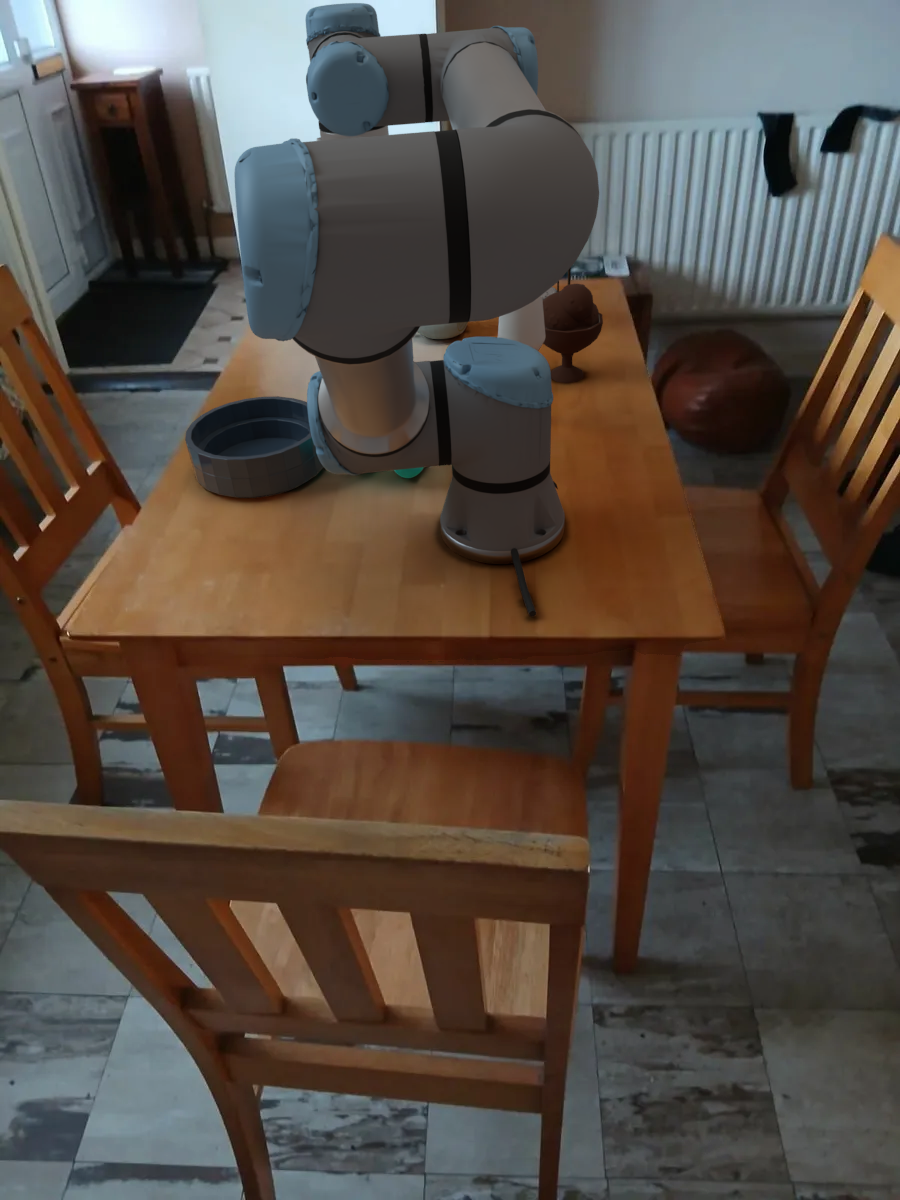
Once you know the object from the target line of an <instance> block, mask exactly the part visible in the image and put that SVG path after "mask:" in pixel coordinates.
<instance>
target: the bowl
mask: <svg viewBox="0 0 900 1200" xmlns="http://www.w3.org/2000/svg"><path fill="white" fill-rule="evenodd" d="M184 440H185V444H186V447H187V448H186V449H187V452H188V455H189V460H190V463H191V467H192V470H193V475H194V478H195V479H196V481H197V483H198V485H200V486H201V487H203V488H204V489H205V490H207V491H209V492H211V493H214V494H217V495H220V496H224V497H230V498H237V499H258V498H266V497H271V496H276V495H280V494H283V493H286V492H289V491H293V490H295V489H296V488H299V487H300V486H302V485H305V483H307V482H309V481H310V480H312V479H313V478H315V477H316V476H317V475H318V474H319V473H320V472H321V471H322V470H323V469H324V467H323V465H322V464H321V462H320V460H319V458H318V456H317V453H316V446H315V445H314V443H313V440H312V436H311V431H310V426H309V418H308V409H307V401H305V400H301V399H298V398H293V397H288V396H276V395H275V396H257V397H249V398H248V397H247V398H243V399H238V400H235V401H231V402H228V403H227V402H226V403H224V404H221V405H219V406H217V407H214V408H212V409H210V410H208V411H206V412H204V413H202V414H200V415H199V416H198V417H197V418H196V419H195V420H193V421H192V422H191V423H190V425H189V427H187V429H186V430H185V438H184Z"/></svg>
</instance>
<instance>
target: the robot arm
mask: <svg viewBox="0 0 900 1200" xmlns="http://www.w3.org/2000/svg"><path fill="white" fill-rule="evenodd" d="M305 30H306V39H305V42H306V46H307V50H308V57H309V65H308V67H307V71H306V76H305V83H306V90H307V91H306V92H307V97H308V102H309V105H310V107H311V110H312V112H313V114H314V115H315V117H316V119H317V120H318V129H319V136H320V137H317V138H316V139H315V140H313V141H312V140H310V141H301V139H300V138H290V139H288V140H285V141H283V142H281V143H274V144H266V145H258V146H253V147H250V148H248V149H246V150H245V151H243V152H242V153H241V154H240V156H239V157H238V159H237V160H236V163H235V166H234V192H235V193H234V194H235V207H236V218H237V219H236V220H237V230H238V241H239V242H238V243H239V252H240V262H241V271H242V272H241V273H242V280H243V290H244V297H245V305H246V306H245V307H246V312H247V313H246V314H247V320H248V325H249V329H250V331H251V333H252V334H253V335H254V336H256V337H257V338H260V339H261V340H262V339H263V340H276V341H278V342H285V341H286V342H288V341H291V340H293V341H294V342H295V343H296V345H298V346H299V347H300V348H302V349H303V350H304V351H306V353H308V354H310V355H312V356H313V357H314V358H315V361H316V364H317V366H318V369H319V371H316V372H314V373H313V374H312V375H311V377H310V378H309V382H308V383H307V384H308V385H307V390H306V402H307V409H308V418H309V426H310V431H311V436H312V440H313V443H314V445H315V446H316V453H317V456H318V458H319V460H320V462H321V464H322V465H323V469H325V470H326V471H327V472H329V473H331V474H334V475H348V476H359V475H362V474H367V473H368V474H369V473H379V472H389V471H394V470H400V469H410V468H420V467H424V468H429V467H441V466H443V467H444V466H451V480H450V483H449V486H448V489H447V493H446V496H445V499H444V503H443V507H442V509H441V512H440V517H439V520H440V534H441V538H442V540H443V542H444V544H445V545H446V546H447V547H448V548H449V549H450V550H451V551H453V552H454V553H455V554H457V555H459V556H460V557H463V558H465V559H468V560H471V561H475V562H479V563H486V564H494V565H506V564H507V565H509V564H513V567H514V571H515V575H516V579H517V582H518V587H519V590H520V593H521V596H522V599H523V602H524V605H525V607H526V610H527V614H528V616H529V617H531V618H534V617H536V616H537V611H536V608H535V605H534V602H533V599H532V596H531V593H530V590H529V587H528V583H527V580H526V576H525V573H524V568H523V565H522V563H523V562H527V561H530V560H534V559H537V558H539V557H541V556H543V555H545V554H547V553H549V552H551V551H552V550H553V549H554V548H555V547H557V546H558V544H559V543H560V542H561V540H562V539H563V536H564V533H565V519H566V517H565V515H566V514H565V510H564V508H563V504H562V502H561V499H560V496H559V493H558V491H557V490H559V487H558V485H557V483H556V482H555V480H554V479H553V477H552V474H551V473H552V472H551V452H552V451H551V450H552V449H551V444H552V404H553V401H554V394H553V389H552V379H551V371H552V370H551V367H550V363H549V362H548V360H547V358H546V357H545V356H544V355H543V354H542V353H541V352H540V351H539V350H538V351H537V350H536V349H534V348H532V347H530V346H528V345H526V344H523V343H521V342H518V341H514V340H510V339H506V338H499V337H498V336H470V337H464V338H462V340H455V341H453V342H451V343H450V344H449V345H448V346H447V348H446V349H445V352H444V354H443V359H440V360H439V359H438V360H423V361H415V360H414V345H413V343H414V342H413V338H414V337H415V336H416V335H417V333H418V332H417V331H418V330H419V328H420V326H429V325H440V324H449V323H460V322H468V323H471V322H472V323H473V322H482V321H490V320H493V319H496V318H499V316H503V315H506V314H509V313H511V312H514V311H516V310H518V309H520V308H522V307H524V306H526V305H528V304H530V303H531V302H533V301H535V300H536V299H537V298H538V297H540V296H541V295H542V294H543V293H545V292H546V291H547V290H549V289H550V288H551V287H554V286H555V285H557V282H558V281H559V282H560V280H561V279H562V278H563V277H564V276H565V274H566V273H568V270H569V269H570V267H571V268H572V266H573V265H574V264H575V262H576V261H577V260H578V259H579V257H580V255H581V253H582V251H583V250H584V247H585V246H586V244H587V242H588V241H589V238H590V236H591V234H592V230H593V228H594V225H595V222H596V219H597V215H598V208H599V201H600V185H599V175H598V170H597V166H596V163H595V161H594V158H593V156H592V153H591V151H590V149H589V148H588V146H587V144H586V142H585V141H584V140H583V138H582V137H581V134H580V133H579V132H578V131H577V130H576V128H575V127H574V126H573V125H572V124H571V123H569V122H568V121H567V120H566V119H564V118H563V117H562V116H560V115H558V114H556V113H554V112H552V111H549V110H546V109H545V107H544V104H542V102H541V100H540V98H539V97H538V88H539V59H538V50H537V47H536V39H535V36H534V34H533V33H532V31H531V30H530V29H529V28H527V27H523V26H519V27H518V26H514V27H509V26H508V27H507V26H501V25H493V26H492V27H489V28H477V29H476V28H475V29H468V30H465V29H464V30H456V31H455V30H454V31H445V32H431V33H411V34H398V35H395V34H394V35H383V36H381V33H380V29H379V20H378V14H377V11H376V9H375V8H374V6H373V5H371V4H368V3H363V2H348V3H347V2H346V3H335V4H334V3H332V4H325V5H318V6H315V7H311V8H310V9H309V10H308V11H307V12H306V14H305ZM434 122H435V123H438V122H450V125H451V129H448V130H447V129H446V130H436V131H435V130H433V131H432V130H431V131H421V132H420V131H419V132H409V133H408V132H407V133H397V134H390V133H389V126H402V125H414V124H415V125H416V124H425V123H426V124H427V123H434Z"/></svg>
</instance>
